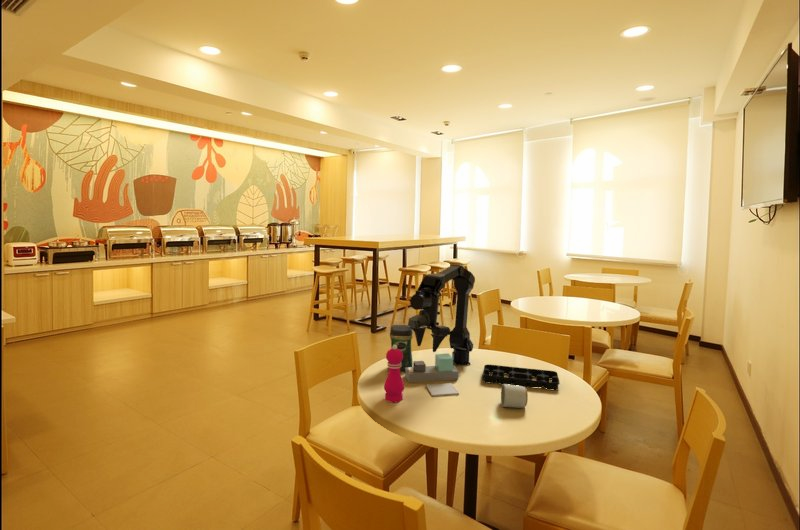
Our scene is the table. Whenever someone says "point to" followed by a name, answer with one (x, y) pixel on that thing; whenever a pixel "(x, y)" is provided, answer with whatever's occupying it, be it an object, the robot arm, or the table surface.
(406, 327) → the coffee jar
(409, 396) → the table surface
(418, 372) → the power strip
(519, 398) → the ceramic mug
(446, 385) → the mat
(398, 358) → the pepper mill
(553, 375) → the egg carton
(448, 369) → the green block
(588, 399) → the table surface
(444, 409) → the table surface
